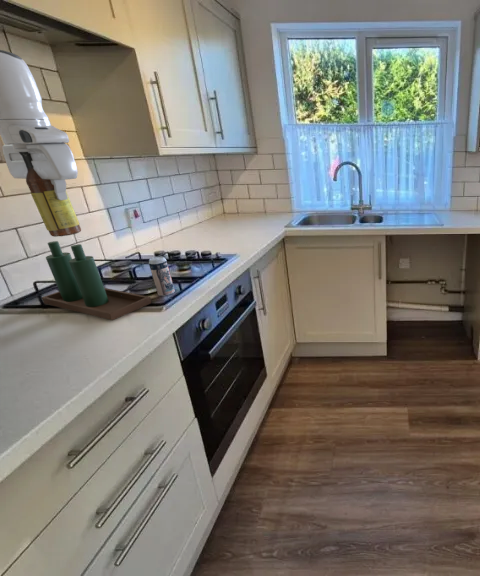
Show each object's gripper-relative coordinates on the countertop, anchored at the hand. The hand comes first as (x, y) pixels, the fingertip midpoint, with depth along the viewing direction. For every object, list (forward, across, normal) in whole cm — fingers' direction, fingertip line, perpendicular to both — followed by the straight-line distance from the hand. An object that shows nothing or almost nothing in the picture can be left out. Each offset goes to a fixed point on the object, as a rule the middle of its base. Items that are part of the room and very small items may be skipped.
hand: (52, 199), depth 84 cm
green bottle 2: (+33, -14, +8) cm, 36 cm away
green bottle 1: (+33, -25, +8) cm, 42 cm away
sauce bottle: (+9, 0, 0) cm, 9 cm away
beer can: (+33, -1, +21) cm, 39 cm away
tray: (+33, -14, +8) cm, 37 cm away
